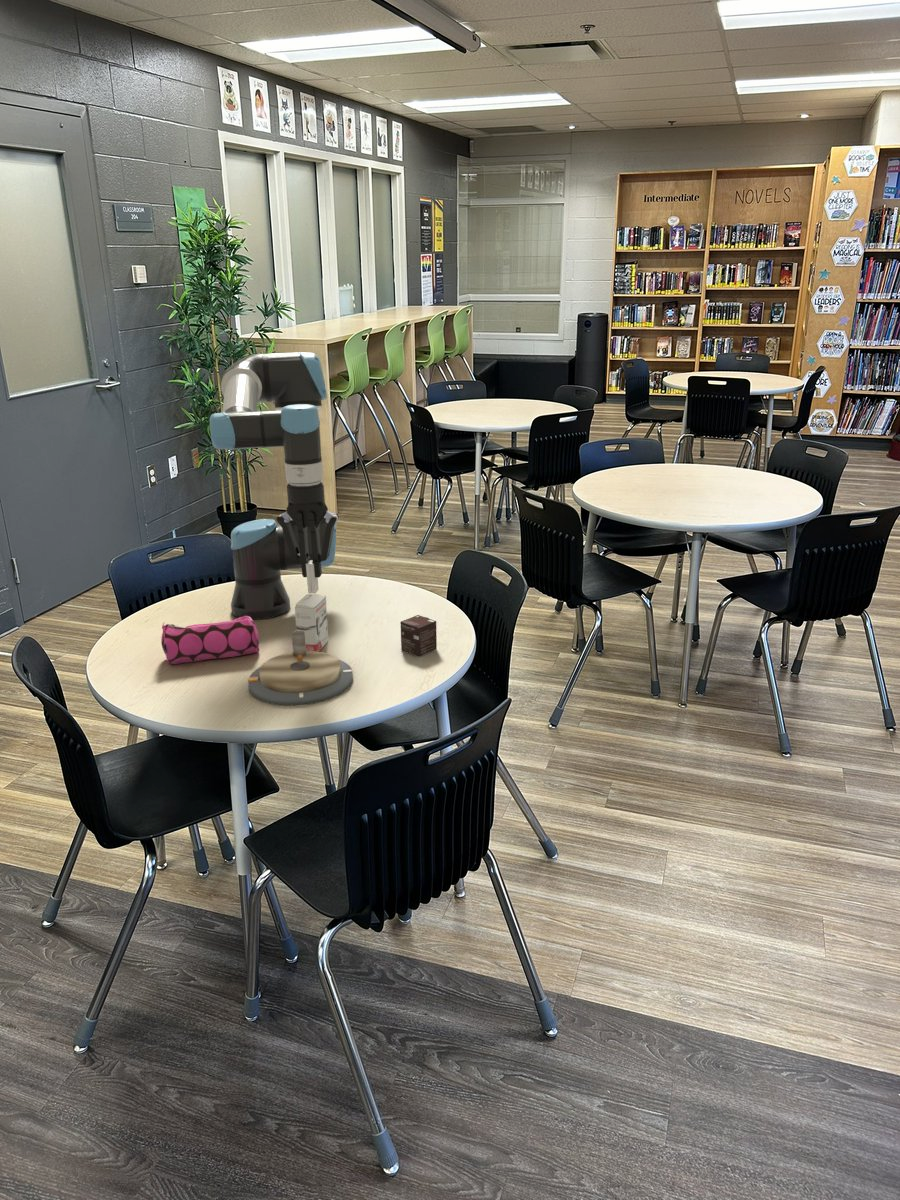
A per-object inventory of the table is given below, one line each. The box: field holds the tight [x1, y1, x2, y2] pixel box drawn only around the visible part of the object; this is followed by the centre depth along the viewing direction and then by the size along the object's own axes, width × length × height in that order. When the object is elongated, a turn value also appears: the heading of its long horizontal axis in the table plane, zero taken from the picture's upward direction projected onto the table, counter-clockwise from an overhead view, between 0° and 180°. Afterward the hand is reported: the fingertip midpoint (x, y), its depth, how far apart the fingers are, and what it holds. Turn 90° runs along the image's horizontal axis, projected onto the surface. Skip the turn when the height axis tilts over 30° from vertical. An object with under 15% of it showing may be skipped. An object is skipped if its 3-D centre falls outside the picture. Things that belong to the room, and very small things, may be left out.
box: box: [400, 614, 438, 658], centre depth 204 cm, size 6×6×7 cm
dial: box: [259, 630, 341, 693], centre depth 188 cm, size 17×17×7 cm
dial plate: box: [247, 658, 354, 706], centre depth 190 cm, size 22×22×2 cm
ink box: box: [294, 593, 329, 652], centre depth 206 cm, size 9×5×12 cm, turn 168°
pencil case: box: [160, 616, 260, 665], centre depth 202 cm, size 21×10×10 cm, turn 109°
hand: (313, 591), depth 190 cm, fingers closed
